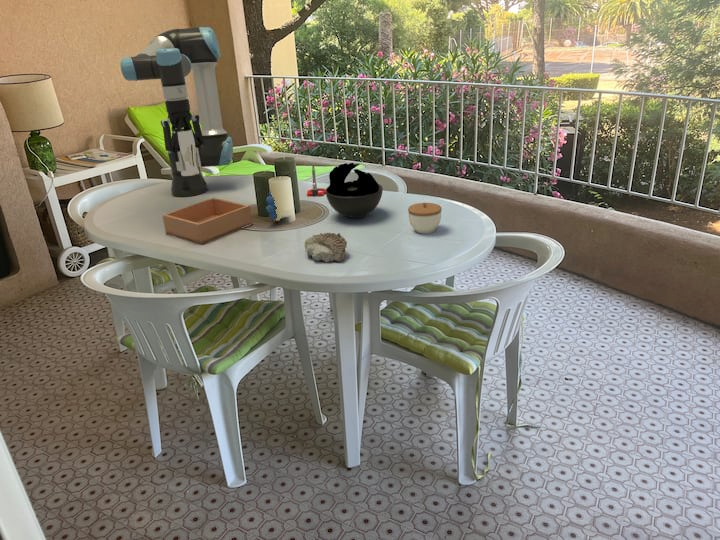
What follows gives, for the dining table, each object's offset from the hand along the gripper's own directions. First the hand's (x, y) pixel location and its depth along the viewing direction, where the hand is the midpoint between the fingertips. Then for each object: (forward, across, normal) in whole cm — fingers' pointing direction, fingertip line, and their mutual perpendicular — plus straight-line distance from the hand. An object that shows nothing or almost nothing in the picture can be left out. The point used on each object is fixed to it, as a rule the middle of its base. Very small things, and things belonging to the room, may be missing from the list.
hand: (189, 168), depth 190 cm
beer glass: (+2, 0, 0) cm, 2 cm away
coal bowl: (+21, +36, -43) cm, 60 cm away
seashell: (+22, +3, -59) cm, 63 cm away
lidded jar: (+21, +36, -72) cm, 84 cm away
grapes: (+21, +18, -24) cm, 36 cm away
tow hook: (+21, +50, -11) cm, 55 cm away
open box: (+21, -1, -7) cm, 22 cm away
